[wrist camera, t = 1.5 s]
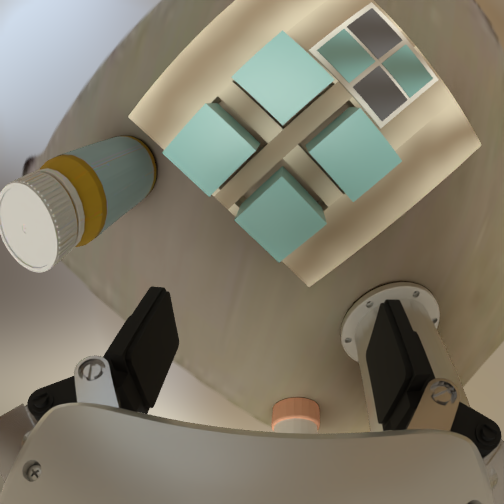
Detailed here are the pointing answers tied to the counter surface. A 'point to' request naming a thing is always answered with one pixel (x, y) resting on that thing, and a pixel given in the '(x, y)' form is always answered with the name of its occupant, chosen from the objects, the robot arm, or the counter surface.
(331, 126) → the button
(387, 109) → the button board
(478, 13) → the counter surface
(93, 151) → the bottle
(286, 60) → the button
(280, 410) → the salt shaker
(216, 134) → the button
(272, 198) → the button
